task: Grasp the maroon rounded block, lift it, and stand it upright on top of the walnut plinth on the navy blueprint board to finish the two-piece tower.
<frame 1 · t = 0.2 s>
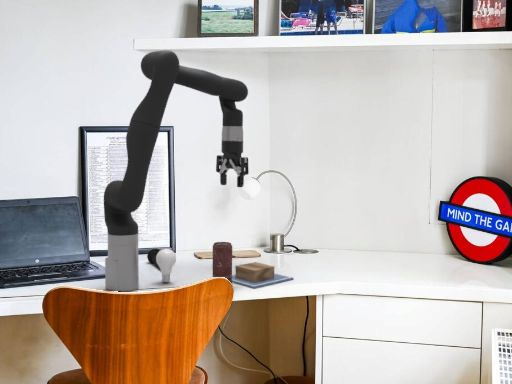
hand: (231, 186, 234), 29 cm above the table, fingers open, 8 cm apart
plinth: (254, 278, 219), point 1 cm above the table, touching blueprint board
microphone: (157, 268, 236), on the table
lightbulb: (166, 283, 214), on the table
blueprint board: (256, 279, 220), on the table
maroon rounded block: (222, 287, 210), on the table
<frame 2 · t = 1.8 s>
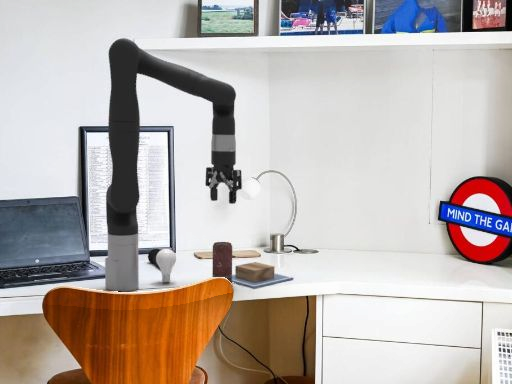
hand: (223, 202, 207), 27 cm above the table, fingers open, 8 cm apart
nothing on the table moved.
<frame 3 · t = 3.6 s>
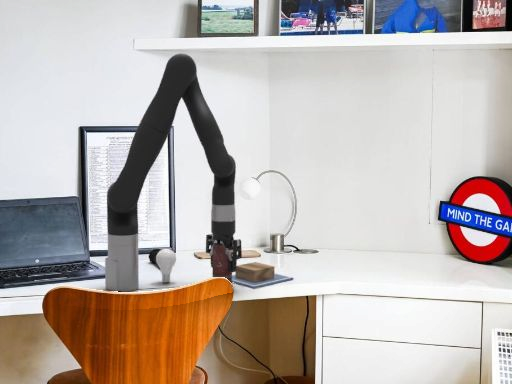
hand: (223, 269, 209), 6 cm above the table, fingers open, 8 cm apart
nothing on the table moved.
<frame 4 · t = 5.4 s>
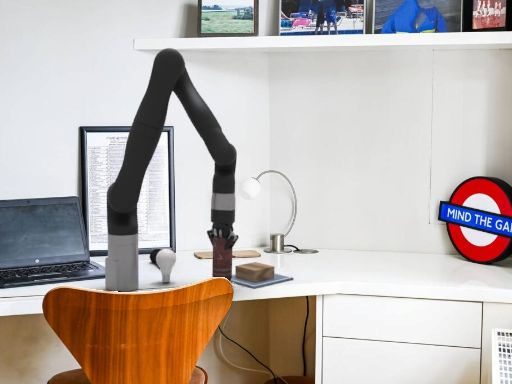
hand: (221, 262, 208), 8 cm above the table, fingers closed
maroon rounded block: (222, 280, 209), point 2 cm above the table, touching hand
everything else where it was.
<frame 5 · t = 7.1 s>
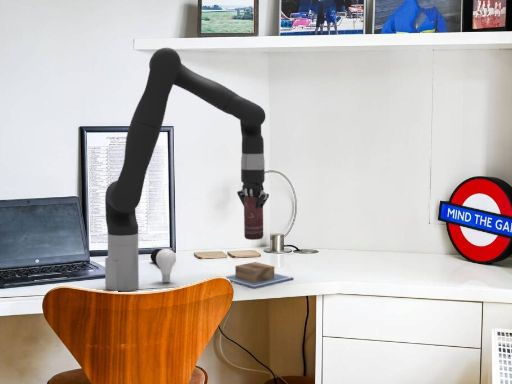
hand: (252, 221, 216), 20 cm above the table, fingers closed
maroon rounded block: (254, 238, 217), point 14 cm above the table, touching hand
everything else where it was.
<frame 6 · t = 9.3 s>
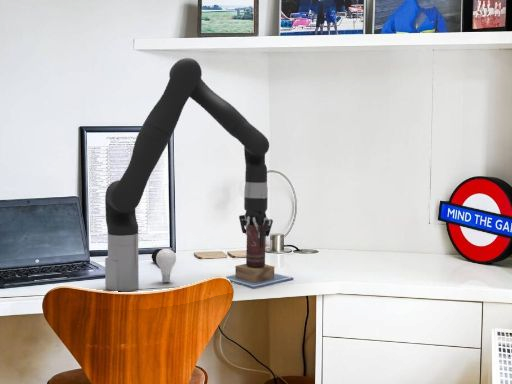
hand: (255, 247, 218), 11 cm above the table, fingers open, 4 cm apart
plinth: (254, 278, 219), point 1 cm above the table, touching blueprint board, maroon rounded block
maroon rounded block: (255, 266, 219), point 4 cm above the table, touching plinth
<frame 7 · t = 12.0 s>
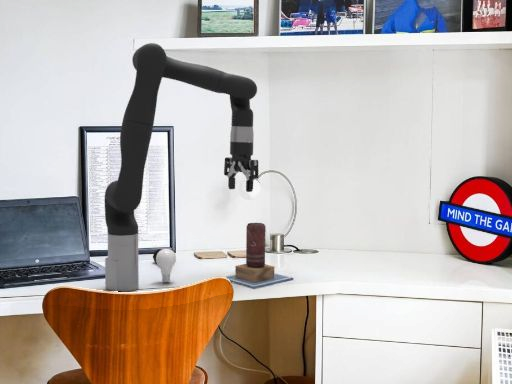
hand: (240, 190, 218), 29 cm above the table, fingers open, 8 cm apart
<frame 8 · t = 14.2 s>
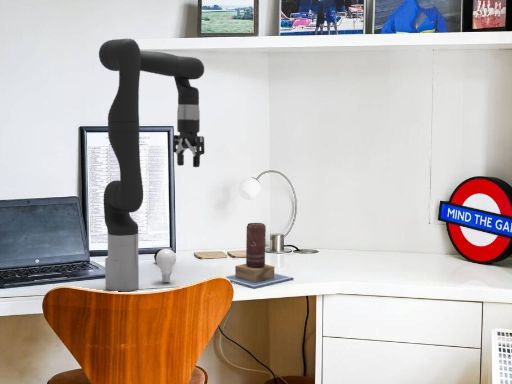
hand: (188, 166, 228), 36 cm above the table, fingers open, 8 cm apart
at the end: maroon rounded block 0.4 cm from the plinth (horizontally); maroon rounded block touching plinth; maroon rounded block tilted 0° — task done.
